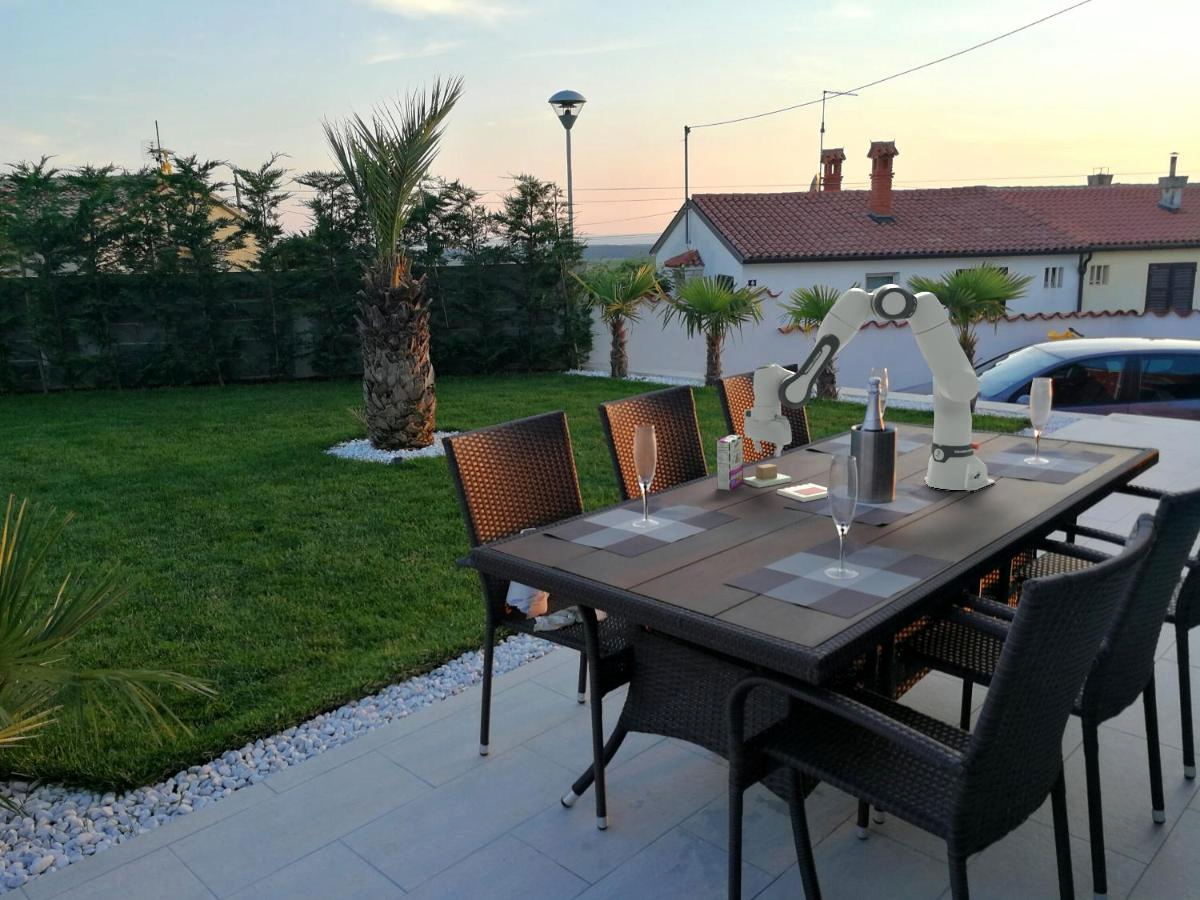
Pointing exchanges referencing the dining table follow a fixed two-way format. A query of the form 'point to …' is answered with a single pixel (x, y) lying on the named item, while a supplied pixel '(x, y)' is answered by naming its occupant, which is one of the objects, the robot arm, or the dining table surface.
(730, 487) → the candy bar box
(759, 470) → the stub
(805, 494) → the board
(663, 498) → the dining table surface
